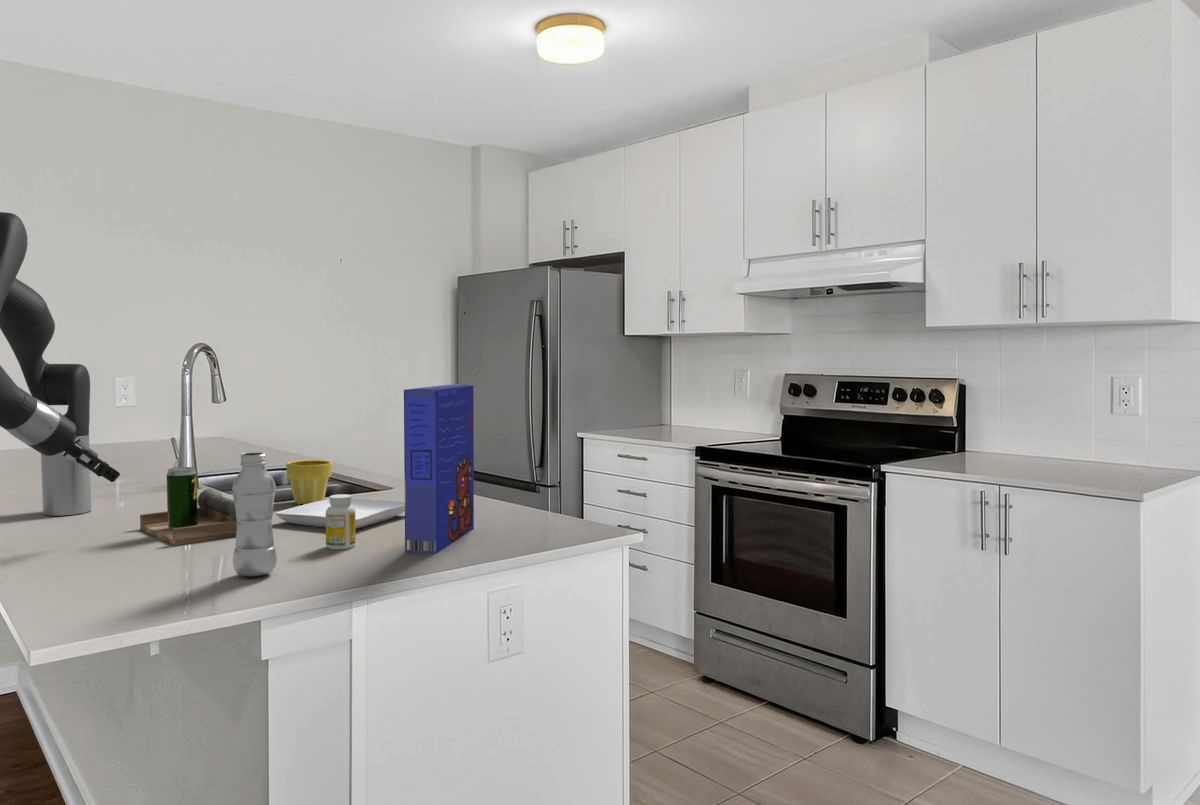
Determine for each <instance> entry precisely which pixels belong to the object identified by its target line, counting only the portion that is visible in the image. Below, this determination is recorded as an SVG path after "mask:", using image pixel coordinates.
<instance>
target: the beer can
mask: <svg viewBox="0 0 1200 805" xmlns="http://www.w3.org/2000/svg"><path fill="white" fill-rule="evenodd" d="M166 501H167V504H166V505H167V506H166V507H167V511H168V527H169V529H170V530H172V531H173V529H175V528H182V527H189V526H197V524H198V514H197V508H198V502H197V501H198V485H197V472H196V467H194V466H193V467H192V466H180V467H179V466H178V467H171V468H167V473H166Z"/></svg>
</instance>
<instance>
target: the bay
mask: <svg viewBox="0 0 1200 805" xmlns="http://www.w3.org/2000/svg"><path fill="white" fill-rule="evenodd" d="M197 514H198V524H197V526H189V527H182V528H175V529H173V531H172V530H170V529H169V527H168V510H167V511H166V510H165V511H159V512H151V513H144V514H143V513H142V514H139V524H140V525H139V527H140V528H139V529H140V530H141V531H143V532H145V533H148V534H150V535H152V536H154V537H156V538H158V539H160V540H162V541H165V542H166V543H168V544H171V545H173V546H181V545H188V544H195V543H202V542H207V541H208V542H209V541H217V540H221V539H222V540H223V539H227V538H228V539H229V538H236V532H237V523H236V522H237V519H236V509H235V503H234V499H231V498H228V497H224V496H223V494H222V493H221V491H219V490H218V489H215V488H211V487H210V488H207V489H203V491H201V492H200V493H199V495H198V496H197Z"/></svg>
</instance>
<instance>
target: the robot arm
mask: <svg viewBox="0 0 1200 805" xmlns="http://www.w3.org/2000/svg"><path fill="white" fill-rule="evenodd" d="M27 233H28V232H27V229H26V227H25V224H24V222H23V221H22V219H21V218H20V216H18V215H17V214H15V213H11V212H5V211H3V212H2V211H0V331H1V332H2V334H3V336H4V337H5V339H6V341H7V342H8V345H9V346H10V348H11V351H12V352H13V354H14V356H15V358H16V360H17V362H18V364H19V368H20V370H21V372H22V375H23V378H24V380H25V383H26V386H27V388H28V391H29V392H30V393H28V392H27V391H25V389H23V388H21V387H20V386H18V385H17V384H16V383H15V381H14V380H13V379H12V378H11V377H10V376H11V375H9V374H8V373H7V372H6V370H5V369H4V368H3V367H2V365H1V364H0V428H2V429H4V430H5V431H7V433H8V434H10V435H11V436H13V437H14V438H15V439H17V440H19V441H20V442H22V443H23V444H25V445H27V446H28V447H29V448H31V449H33V450H35V451H36V452H38V453H40V460H41V461H40V462H41V463H40V464H41V487H42V488H41V490H42V514H43V515H44V516H52V517H53V516H59V517H60V516H71V515H72V516H73V515H78V514H79V515H81V514H84V513H85V514H86V513H89V512H91V511H92V485H91V484H92V483H91V481H92V480H91V477H92V476H91V472H92V473H94V474H95V475H96V476H97V477H103V478H104V479H106V480H107V481H109V482H110V483H114V482H115V481H116V480H117V479H119V477H120V476H121V473H120V472H119V471H118V470H117V469H115V468H113V467H112V466H110V464H109V463H108V462H106V461H104V460H102V459H101V458H99V454H98V453H97V452H96V451H95V450H93V449H92V448H90V419H91V418H90V414H91V413H90V404H91V401H90V399H91V398H90V397H91V378H90V372H89V370H88V369H87V367H86V366H85V365H83V364H80V363H48V362H46V360H45V359H44V357H43V355H44V353H45V350H46V349H47V347H48V346H49V345H50V342H51V341H52V339H53V336H54V333H55V329H56V324H55V320H54V318H53V315H52V313H51V312H50V309H49V307H48V304H47V303H46V301H45V299H44V298H43V297H42V296H41V294H39V293H38V292H37V291H36V290H35V289H33V288H32V287H31V286H29V285H27V284H26V283H24V282H23V281H21V280H20V279H18V278H17V275H18V273H19V271H20V269H21V266H22V264H23V262H24V260H25V258H26V254H27V249H28V234H27ZM52 406H67V411H66V412H65V413H64V414H62V413H61V412H59V411H58V410H56V409H54V408H53V407H52Z"/></svg>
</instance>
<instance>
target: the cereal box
mask: <svg viewBox="0 0 1200 805" xmlns="http://www.w3.org/2000/svg"><path fill="white" fill-rule="evenodd" d="M403 429H404V430H403V441H404V442H403V451H404V452H403V453H404V456H403V457H404V462H403V463H404V501H405V512H404V552H405V553H415V554H416V553H419V554H433V555H434V554H439V552H441V551H442V550H444V549H445V548H447V547H449V546H450V545H452V544H453V543H455V542H456V541H458V540H459V539H460V538H463V537H464V536H465V535H467V534H468V533H470V532H472V531H473V530H474V529H475V524H474V523H475V522H474V521H475V513H474V510H475V508H474V507H475V506H474V505H475V503H474V502H475V500H474V499H475V498H474V494H475V493H474V492H475V490H474V489H475V488H474V484H475V483H474V482H475V481H474V480H475V479H474V477H475V475H474V473H475V472H474V471H475V470H474V469H475V466H474V461H475V460H474V453H475V452H474V441H475V440H474V436H475V435H474V385H471V384H466V383H458V384H457V383H454V384H442V385H434V386H433V385H432V386H426V387H423V386H422V387H416V388H415V387H414V388H408V389H403Z"/></svg>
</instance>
